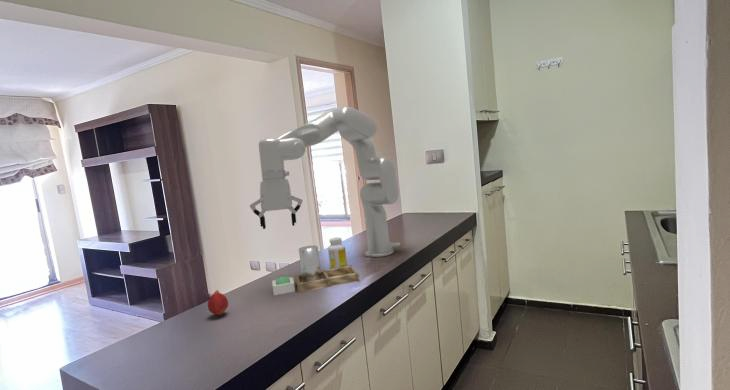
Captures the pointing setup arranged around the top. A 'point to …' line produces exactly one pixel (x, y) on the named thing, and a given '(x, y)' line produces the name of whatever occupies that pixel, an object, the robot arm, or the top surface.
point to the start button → (282, 280)
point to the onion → (217, 303)
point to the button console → (283, 287)
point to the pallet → (329, 279)
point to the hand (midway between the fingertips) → (279, 226)
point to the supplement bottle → (337, 253)
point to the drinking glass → (310, 263)
